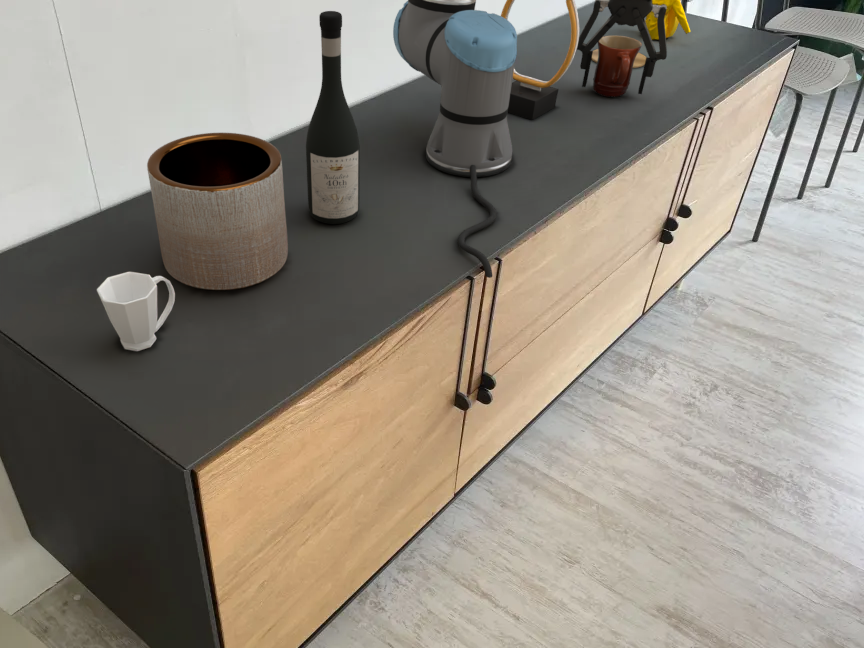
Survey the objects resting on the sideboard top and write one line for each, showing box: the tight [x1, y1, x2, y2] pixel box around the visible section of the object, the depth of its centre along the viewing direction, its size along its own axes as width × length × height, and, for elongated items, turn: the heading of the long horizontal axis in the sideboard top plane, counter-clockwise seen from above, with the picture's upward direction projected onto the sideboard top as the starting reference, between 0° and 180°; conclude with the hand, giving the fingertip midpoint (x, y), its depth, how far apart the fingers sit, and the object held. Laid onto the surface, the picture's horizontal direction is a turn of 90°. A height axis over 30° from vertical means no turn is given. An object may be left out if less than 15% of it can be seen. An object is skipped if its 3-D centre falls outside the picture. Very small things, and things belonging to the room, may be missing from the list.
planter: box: [146, 132, 289, 292], centre depth 107 cm, size 18×18×16 cm
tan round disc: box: [591, 48, 647, 69], centre depth 181 cm, size 13×13×1 cm
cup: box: [96, 271, 176, 352], centre depth 96 cm, size 7×10×8 cm
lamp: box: [500, 0, 580, 121], centre depth 148 cm, size 17×9×32 cm, turn 50°
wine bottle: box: [305, 10, 361, 225], centre depth 114 cm, size 8×8×30 cm
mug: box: [592, 35, 643, 98], centre depth 161 cm, size 12×9×10 cm
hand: (612, 88), depth 163 cm, fingers open, 11 cm apart
